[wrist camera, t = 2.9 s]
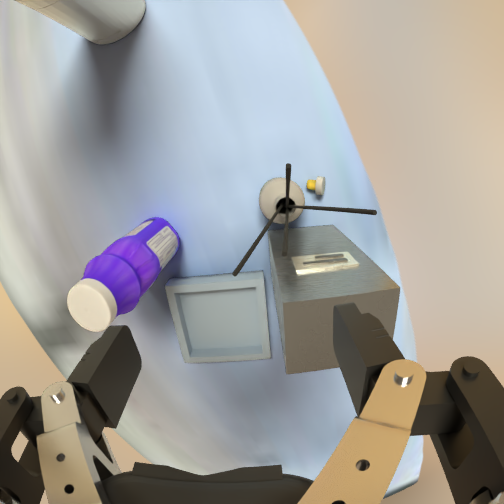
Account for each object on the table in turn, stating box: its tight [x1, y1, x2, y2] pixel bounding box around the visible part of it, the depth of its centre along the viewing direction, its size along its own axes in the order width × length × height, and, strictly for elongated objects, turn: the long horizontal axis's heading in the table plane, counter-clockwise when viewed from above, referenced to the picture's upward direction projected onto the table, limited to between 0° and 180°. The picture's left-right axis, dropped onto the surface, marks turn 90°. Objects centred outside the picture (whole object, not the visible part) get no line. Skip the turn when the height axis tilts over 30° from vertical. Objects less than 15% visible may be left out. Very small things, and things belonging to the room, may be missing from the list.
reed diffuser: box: [233, 163, 377, 276], centre depth 24 cm, size 10×7×20 cm
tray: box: [165, 270, 271, 363], centre depth 37 cm, size 12×12×2 cm
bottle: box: [67, 217, 180, 332], centre depth 27 cm, size 7×6×17 cm
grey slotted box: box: [268, 225, 400, 374], centre depth 27 cm, size 7×8×18 cm
